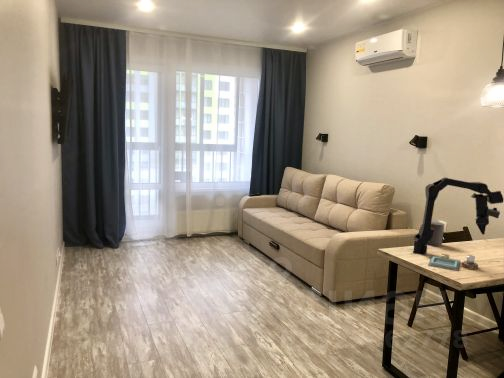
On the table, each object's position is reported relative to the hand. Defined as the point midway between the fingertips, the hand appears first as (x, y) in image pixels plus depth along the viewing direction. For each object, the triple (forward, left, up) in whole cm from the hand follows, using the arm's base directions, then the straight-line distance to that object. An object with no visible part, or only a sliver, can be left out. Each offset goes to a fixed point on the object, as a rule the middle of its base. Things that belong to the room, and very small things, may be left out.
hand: (483, 232), depth 229 cm
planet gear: (-5, -24, -15) cm, 28 cm away
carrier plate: (-17, -25, -15) cm, 34 cm away
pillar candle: (-26, +13, -15) cm, 32 cm away
